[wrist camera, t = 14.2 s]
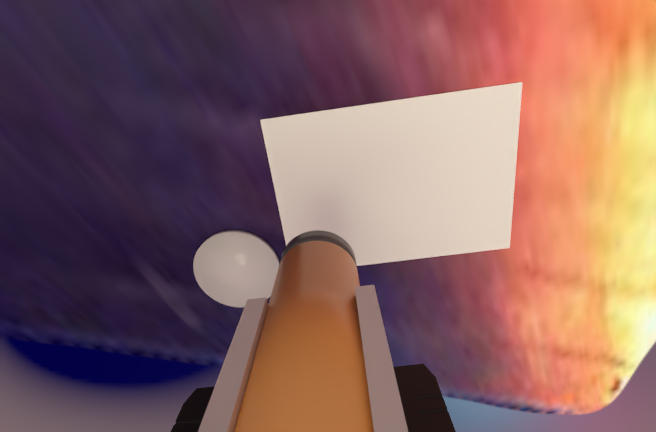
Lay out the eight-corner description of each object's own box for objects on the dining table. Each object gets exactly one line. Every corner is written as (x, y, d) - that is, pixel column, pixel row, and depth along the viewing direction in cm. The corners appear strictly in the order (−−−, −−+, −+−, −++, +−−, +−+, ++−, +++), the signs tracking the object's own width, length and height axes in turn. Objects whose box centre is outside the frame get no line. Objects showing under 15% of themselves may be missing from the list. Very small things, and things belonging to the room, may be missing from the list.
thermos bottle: (286, 301, 18) (195, 775, 6) (272, 233, 17) (103, 678, 4) (361, 293, 18) (438, 766, 5) (353, 223, 16) (436, 658, 4)
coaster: (208, 307, 32) (206, 311, 32) (184, 235, 30) (182, 238, 29) (287, 298, 32) (287, 302, 31) (271, 224, 29) (270, 227, 29)
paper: (292, 271, 31) (291, 273, 30) (261, 119, 26) (260, 120, 25) (507, 245, 30) (509, 247, 29) (519, 82, 25) (522, 82, 24)
